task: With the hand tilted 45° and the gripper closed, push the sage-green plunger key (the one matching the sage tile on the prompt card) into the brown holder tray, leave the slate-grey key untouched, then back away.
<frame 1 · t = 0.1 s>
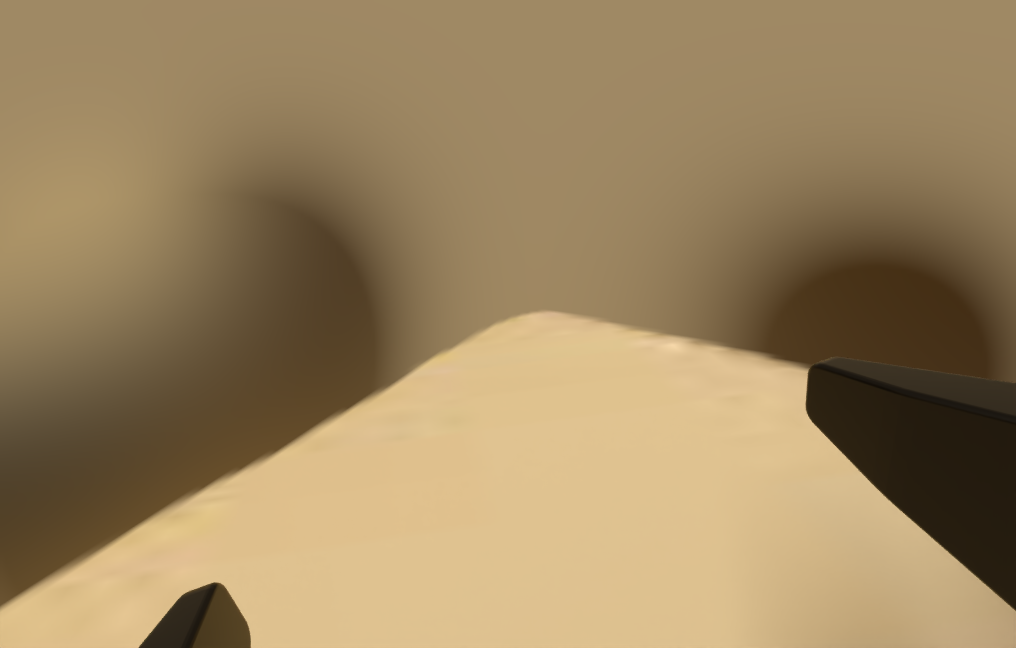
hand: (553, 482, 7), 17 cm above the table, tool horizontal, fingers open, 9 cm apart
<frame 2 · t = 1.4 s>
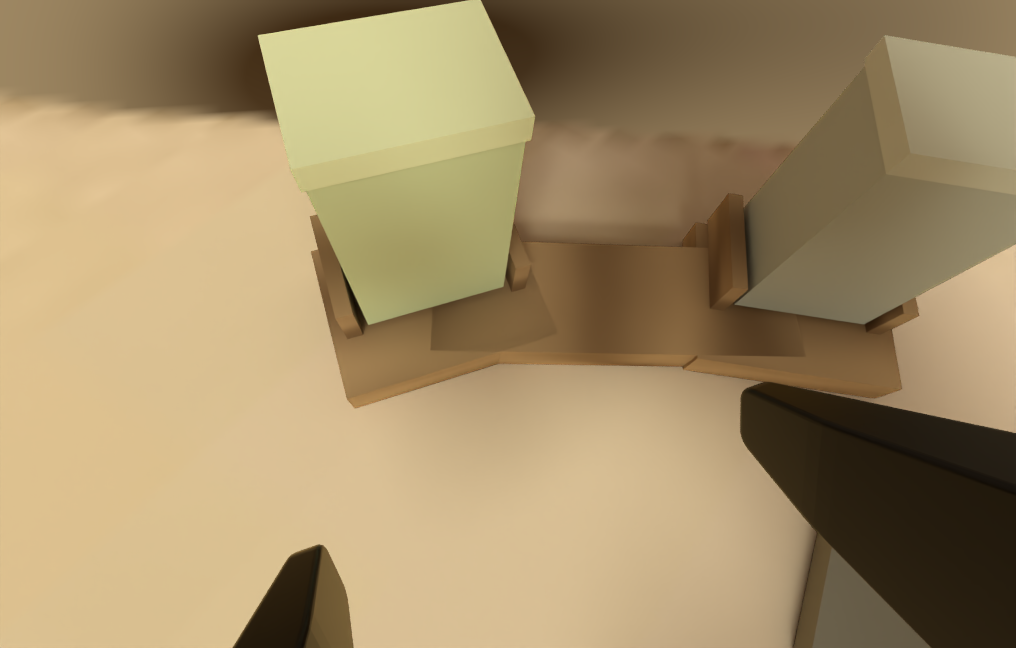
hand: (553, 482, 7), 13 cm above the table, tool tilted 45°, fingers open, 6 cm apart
slate key: (873, 209, 18), point 6 cm above the table, slide at 0.0 cm
sage key: (412, 193, 17), point 6 cm above the table, slide at 0.0 cm
brown holder tray: (603, 286, 23), on the table
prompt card: (942, 620, 19), on the table
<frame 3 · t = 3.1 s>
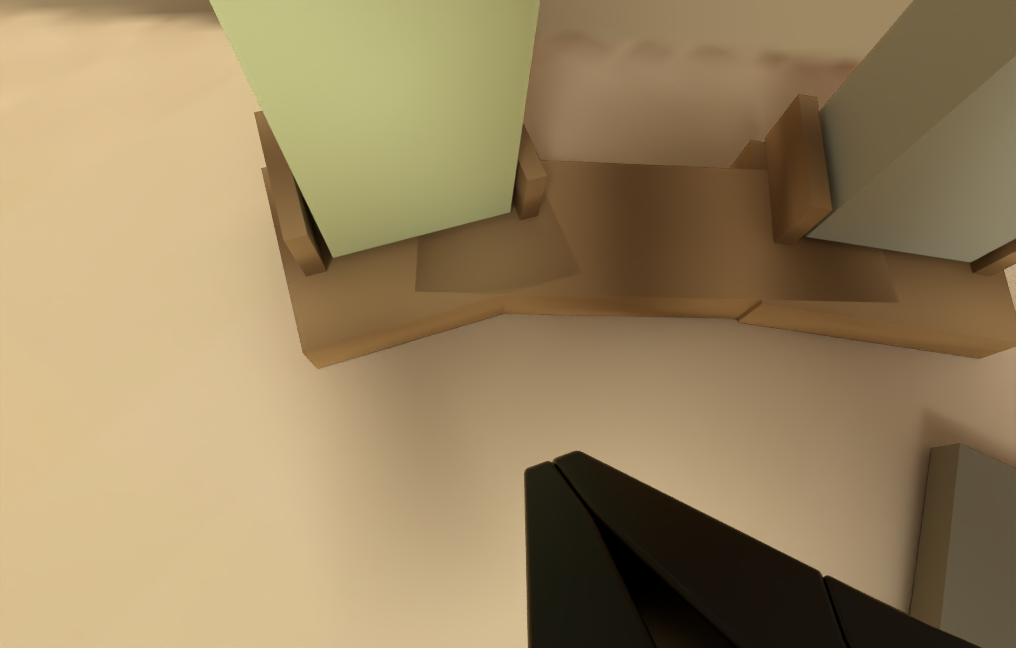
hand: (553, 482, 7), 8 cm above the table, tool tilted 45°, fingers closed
slate key: (1013, 91, 13), point 6 cm above the table, slide at 0.0 cm
sage key: (386, 56, 12), point 6 cm above the table, slide at 0.0 cm
brown holder tray: (634, 221, 18), on the table
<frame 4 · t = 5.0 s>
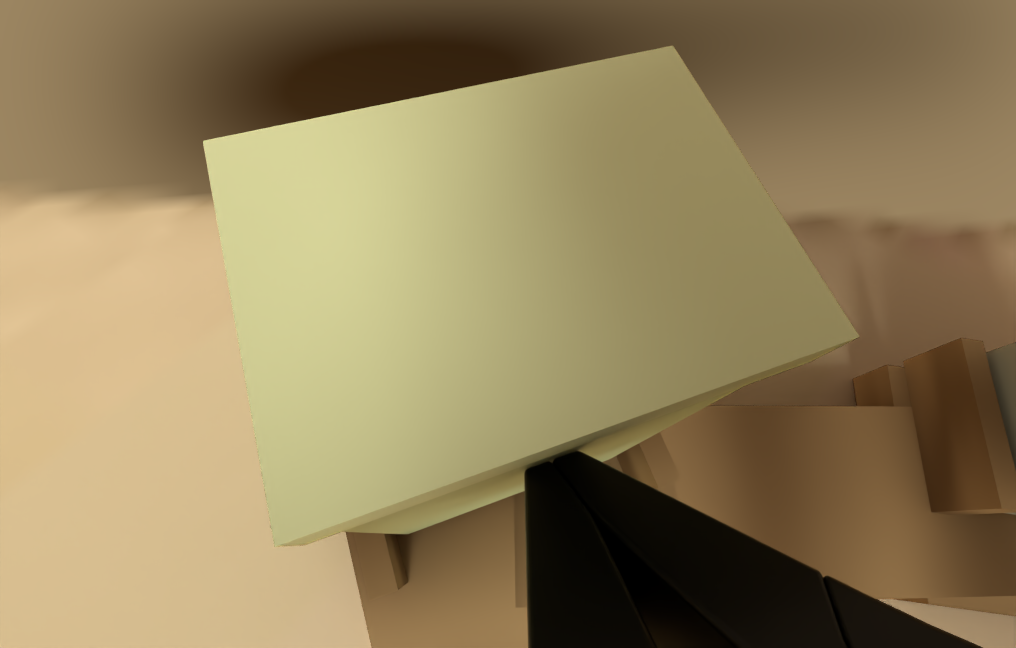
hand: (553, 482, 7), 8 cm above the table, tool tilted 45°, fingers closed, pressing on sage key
sage key: (496, 370, 10), point 6 cm above the table, slide at 0.8 cm, touching gripper
brown holder tray: (751, 458, 16), on the table
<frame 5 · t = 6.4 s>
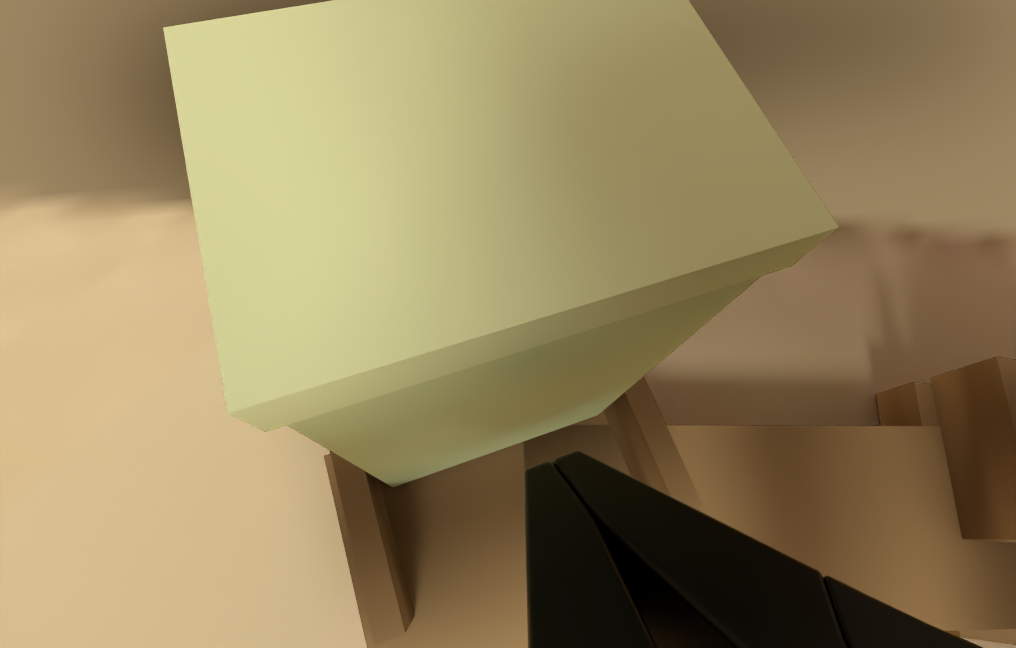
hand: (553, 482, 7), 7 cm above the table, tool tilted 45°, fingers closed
sage key: (479, 308, 9), point 6 cm above the table, slide at 2.7 cm
brown holder tray: (771, 479, 15), on the table
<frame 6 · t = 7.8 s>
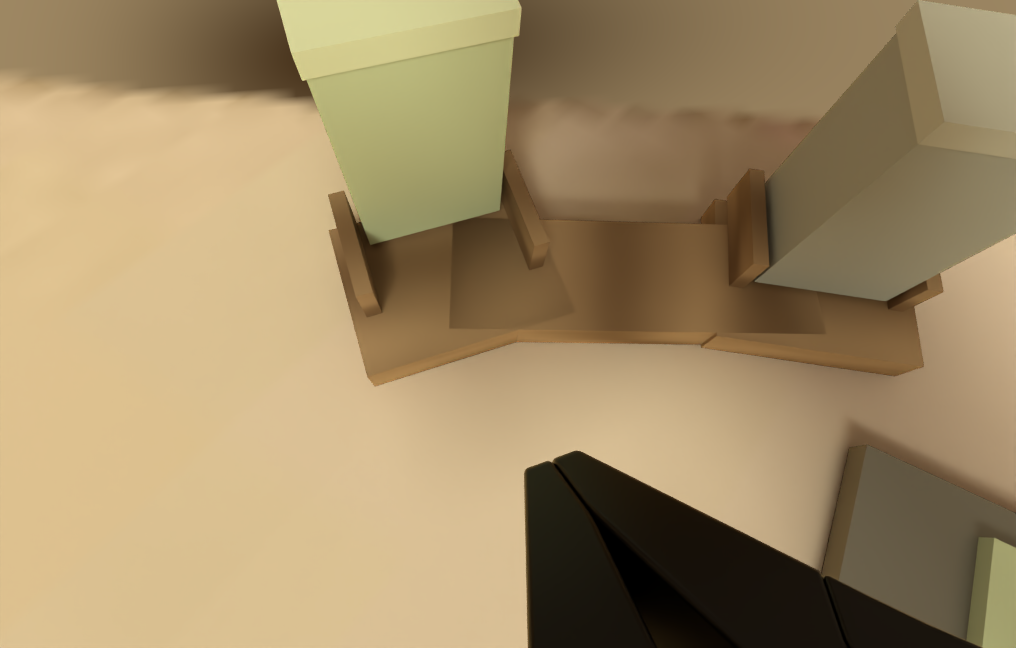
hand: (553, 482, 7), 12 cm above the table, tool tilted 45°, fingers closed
slate key: (900, 183, 17), point 6 cm above the table, slide at 0.0 cm
sage key: (409, 106, 17), point 6 cm above the table, slide at 2.7 cm
brown holder tray: (621, 265, 23), on the table
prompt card: (960, 595, 19), on the table
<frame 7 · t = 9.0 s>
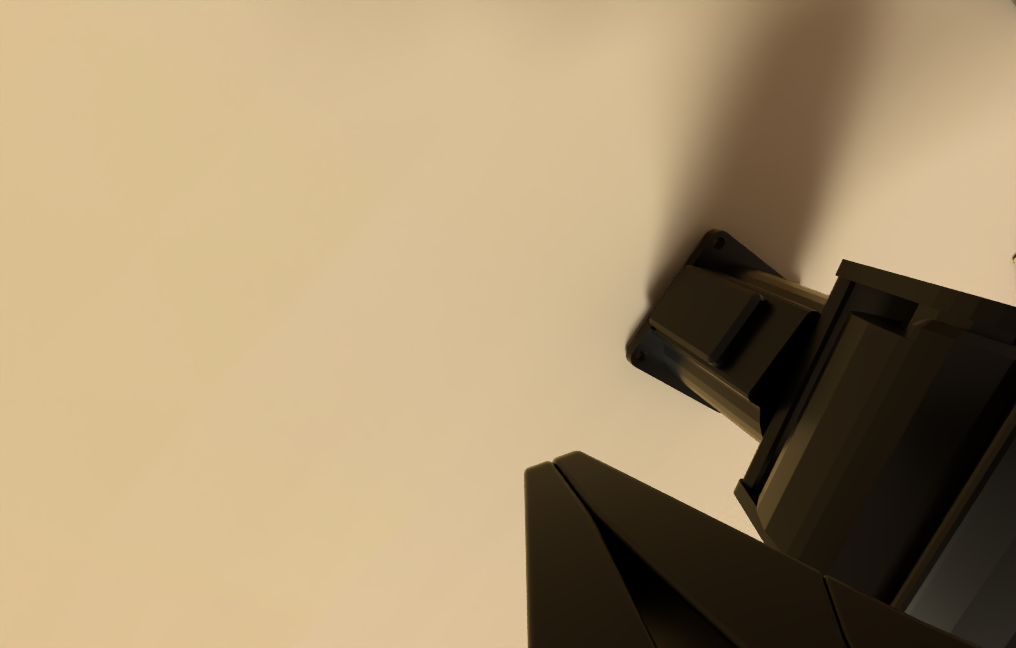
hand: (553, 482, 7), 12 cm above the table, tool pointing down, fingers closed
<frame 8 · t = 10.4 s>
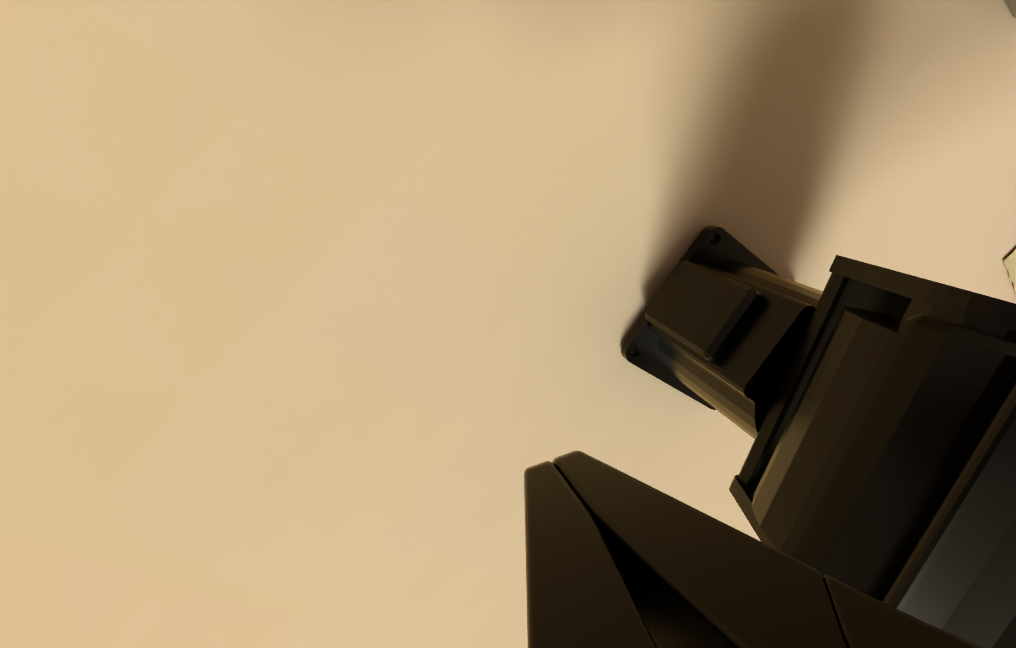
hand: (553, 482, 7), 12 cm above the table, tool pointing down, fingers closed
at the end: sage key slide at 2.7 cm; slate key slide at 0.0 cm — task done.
